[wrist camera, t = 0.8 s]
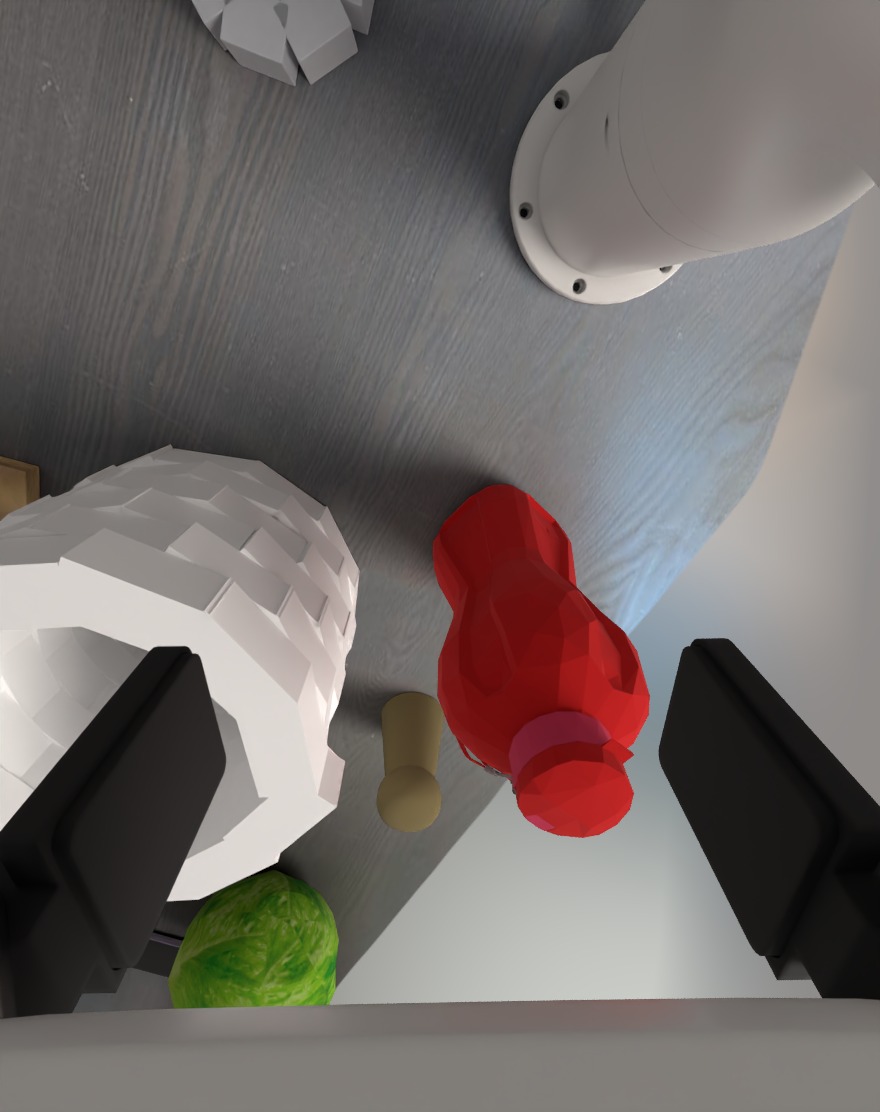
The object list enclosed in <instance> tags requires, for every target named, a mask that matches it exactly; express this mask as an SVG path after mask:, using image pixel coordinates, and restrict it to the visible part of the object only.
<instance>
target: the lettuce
mask: <svg viewBox="0 0 880 1112" xmlns="http://www.w3.org/2000/svg"><path fill="white" fill-rule="evenodd" d="M337 948H338V935H337V930H336V926H335V921H334V916H333V913H332V912H331V910H330V908H329V907H328V905H327V904H326V902H325V900H324V899H323V897H322V895H321V894H320V893H319V892H317V891H316V890H315V889H313V888H312V887H311V886H309V885H308V884H306V883H305V882H304V881H302V880H297V879H294V878H292V877H290V876H288V875H285V874H283V873H281V872H278V871H276V870H271V871H268V872H265V873H262V874H258V875H255V876H252V877H249V878H247V879H244V880H241V881H238V882H236V883H233V884H231V885H229V886H226V887H224V888H222V889H220V890H218V891H216V892H214V893H213V895H212V896H211V898H210V899H209V900H208V901H207V902H206V903H205V904H204V906H203V907H202V908H201V909H200V911H199V912H198V914H197V915H196V917H195V918H194V919H193V921H192V922H191V924H190V925H189V927H188V928H187V931H186V934H185V938H184V940H183V942H182V944H181V946H180V948H179V951H178V954H177V957H176V959H175V962H174V965H173V968H172V970H171V973H170V976H169V979H168V984H169V988H170V993H171V997H172V1002H173V1006H174V1009H189V1008H229V1007H269V1006H308V1005H329V1003H330V1001H331V999H332V997H333V994H334V992H335V967H336V958H337Z"/></svg>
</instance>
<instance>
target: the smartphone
mask: <svg viewBox="0 0 880 1112" xmlns="http://www.w3.org/2000/svg"><path fill="white" fill-rule="evenodd" d="M182 942H183V941H180V940H177V939H173V938H170V937H167V936H163V935H160V934H156V933H152V935H151V937H150V939H149V942H148V944H147V946H146V948H145V950H144V953H143V955H142V957H141V958H140V960H139V961H138V963H137V964H136V965H135V966H134V967H132V968H135V969H138V970H142V971H145V972H149V973H153V974H156V975H160V976H164V977H167V978H169V976H170V973H171V970H172V968H173V965H174V962H175V959H176V957H177V954H178V951H179V948H180V946H181V944H182Z"/></svg>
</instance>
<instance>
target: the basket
mask: <svg viewBox="0 0 880 1112" xmlns="http://www.w3.org/2000/svg"><path fill="white" fill-rule="evenodd" d="M359 574H360V570H359V569H358V567H357V565H356V563H355V561H354V559H353V557H352V555H351V553H350V551H349V549H348V547H347V545H346V543H345V541H344V539H343V537H342V535H341V533H340V531H339V529H338V527H337V525H336V523H335V521H334V519H333V517H332V515H331V513H330V511H329V509H328V507H327V506H325V507H324V506H323V505H322V504H320V503H319V502H317V501H316V500H315V499H313V498H312V497H310V496H309V495H308V494H306V493H305V492H303V491H302V490H300V489H299V488H298V487H296V486H295V485H293V484H292V483H291V482H289V481H288V480H286V479H285V478H284V477H282V476H281V475H279V474H278V473H276V472H275V471H274V470H272V469H271V468H269V467H268V466H267V465H265V464H264V463H262V462H261V461H260V460H258V461H255V460H248V459H242V458H235V457H228V456H222V455H215V454H208V453H202V452H195V451H188V450H182V449H175V448H174V449H173V448H172V446H171V444H170V445H168V446H165V447H163V448H160V449H158V450H156V451H153V452H151V453H148V454H146V455H143V456H141V457H139V458H136V459H134V460H131V461H129V462H127V463H124V464H122V465H119V466H117V467H116V466H115V465H112V466H109V467H107V468H105V469H103V470H101V471H99V472H97V473H95V474H92V475H90V476H88V477H86V478H85V479H84V480H83V481H81V482H79V483H77V484H76V485H75V486H74V488H73V489H72V490H70V491H69V492H66V493H64V494H61V495H59V496H56V497H51V496H50V495H47V496H45V497H43V498H41V499H39V500H37V501H34V502H32V503H30V504H28V505H26V506H24V507H22V508H20V509H17V510H15V511H13V512H11V513H9V514H8V515H7V516H6V517H4V518H3V519H2V520H1V521H0V831H1V830H2V829H3V827H4V826H5V825H6V824H7V823H8V821H9V820H10V819H11V818H12V817H13V815H14V814H15V813H16V812H17V810H18V809H19V808H20V807H21V806H22V804H23V803H24V802H25V801H26V800H27V798H28V797H29V796H30V795H31V794H32V792H33V791H34V790H35V789H36V788H37V786H38V785H39V784H40V783H41V782H42V780H43V779H44V778H45V777H46V775H47V774H48V773H49V772H50V771H51V769H52V768H53V767H54V766H55V765H56V763H57V762H58V761H59V760H60V759H61V757H62V756H63V755H64V754H65V753H66V751H67V750H68V749H69V748H70V747H71V745H72V744H73V743H74V742H75V740H76V739H77V738H78V737H79V736H80V734H81V733H82V732H83V731H84V730H85V728H86V727H87V726H88V725H89V724H90V722H91V721H92V720H93V719H94V718H95V716H96V715H97V714H98V713H99V712H100V710H101V709H102V708H103V707H104V705H105V704H106V703H107V702H108V701H109V699H110V698H111V697H112V696H113V695H114V693H115V692H116V691H117V690H118V689H119V687H120V686H121V685H122V684H123V683H124V681H125V680H126V679H127V678H128V677H129V675H130V674H131V673H132V672H133V670H134V669H135V668H136V667H137V666H138V664H139V663H140V662H141V661H142V660H143V658H144V657H145V656H146V655H147V654H148V652H149V651H150V650H151V649H152V648H154V647H157V646H187V647H189V648H190V650H191V651H192V653H196V654H198V655H199V656H200V658H201V661H202V665H203V669H204V672H205V676H206V680H207V684H208V688H209V692H210V696H211V699H212V703H213V707H214V711H215V715H216V719H217V722H218V726H219V730H220V734H221V738H222V742H223V746H224V749H225V753H226V767H225V772H224V775H223V777H222V779H221V781H220V784H219V786H218V788H217V790H216V793H215V795H214V797H213V799H212V802H211V804H210V806H209V808H208V810H207V813H206V815H205V817H204V819H203V822H202V824H201V826H200V828H199V830H198V833H197V835H196V837H195V839H194V842H193V844H192V846H191V848H190V850H189V853H188V855H187V857H186V859H185V862H184V864H183V866H182V868H181V870H180V873H179V875H178V877H177V879H176V882H175V884H174V886H173V888H172V890H171V893H170V895H169V897H168V899H167V901H181V900H199V899H201V898H203V897H205V896H207V895H210V894H212V893H214V892H216V891H218V890H220V889H222V888H224V887H226V886H229V885H231V884H233V883H235V882H237V881H239V880H241V879H243V878H245V877H248V876H250V875H252V874H254V873H256V872H258V871H260V870H262V869H264V868H266V867H269V866H271V865H273V864H275V863H277V862H278V860H279V856H280V853H281V852H282V851H283V850H285V849H286V848H287V847H288V846H289V845H291V844H292V843H293V842H294V841H296V840H297V839H298V838H299V837H300V836H302V835H303V834H304V833H305V832H307V831H308V830H309V829H310V828H312V827H313V826H314V825H315V824H316V823H318V822H319V821H320V820H321V819H323V818H324V817H325V816H326V815H327V814H329V813H330V812H331V811H332V810H334V809H335V808H336V807H337V803H338V798H339V792H340V787H341V782H342V776H343V771H344V766H345V761H344V760H342V759H341V758H339V757H338V756H337V755H336V754H335V753H334V752H333V751H332V750H331V749H330V748H329V747H328V746H327V736H328V729H329V723H330V721H331V719H332V717H333V715H334V712H335V710H336V708H337V706H338V704H339V700H340V695H341V691H342V687H343V683H344V679H345V675H346V672H345V668H344V667H345V658H346V656H347V654H348V652H349V650H350V649H351V646H352V642H353V638H354V633H355V629H356V622H355V608H356V599H357V589H358V580H359Z"/></svg>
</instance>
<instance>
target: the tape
mask: <svg viewBox="0 0 880 1112" xmlns="http://www.w3.org/2000/svg"><path fill="white" fill-rule="evenodd" d="M374 1H375V0H281V1H280V0H192V2H193V4H194V6H195V8H196V10H197V12H198V14H199V15H200V17H201V19H202V21H203V23H204V24H205V26H206V27H207V28H208V30H209V31H210V32H211V33H212V35H213V36H214V37H215V39H216V40H217V41H218V42H219V44H220V45H221V46H222V48H223V49H224V50H225V51H226V50H229V51H230V53H231V54H232V55H233V57H234V58H235V59H236V61H237V62H238V63H239V65H241V66H244V67H246V68H249V69H251V70H254V71H256V72H259V73H261V74H264V75H266V76H269V77H271V78H274V79H276V80H279V81H281V82H284V83H287V84H289V85H292V86H296V80H297V73H298V66H299V64H300V66H301V68H302V70H303V72H304V74H305V76H306V78H307V80H308V81H309V83H310V85H312V84H313V83H315V82H316V81H317V80H319V79H320V78H322V77H323V76H324V75H326V74H327V73H329V72H330V71H332V70H333V69H334V68H336V67H337V66H339V65H340V64H341V63H343V62H344V61H346V60H347V59H349V58H350V57H351V56H353V55H354V54H356V53H357V52H358V49H357V45H356V41H355V37H354V34H353V30H356V31H358V32H361V33H363V34H365V35H368V32H369V27H370V22H371V16H372V11H373V6H374ZM352 29H353V30H352Z"/></svg>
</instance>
